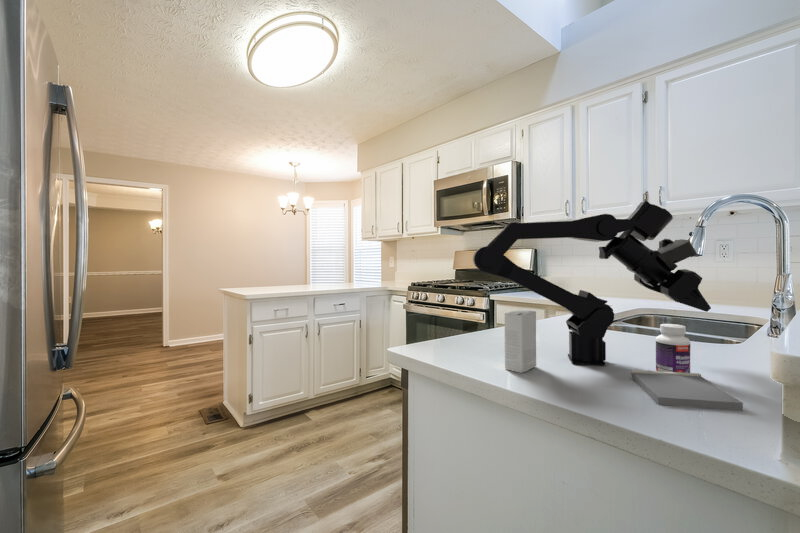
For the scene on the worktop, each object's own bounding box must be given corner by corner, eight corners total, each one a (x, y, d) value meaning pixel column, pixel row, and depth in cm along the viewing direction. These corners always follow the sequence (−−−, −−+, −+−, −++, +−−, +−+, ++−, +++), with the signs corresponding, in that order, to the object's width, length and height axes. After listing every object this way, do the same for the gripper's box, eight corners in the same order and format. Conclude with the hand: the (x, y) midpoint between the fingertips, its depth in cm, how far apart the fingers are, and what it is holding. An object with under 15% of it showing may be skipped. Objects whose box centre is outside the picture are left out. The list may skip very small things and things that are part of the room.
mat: (658, 404, 58) (658, 395, 58) (631, 377, 71) (631, 369, 71) (742, 410, 55) (742, 400, 55) (698, 381, 68) (698, 373, 68)
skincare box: (518, 363, 82) (517, 308, 82) (537, 367, 79) (537, 310, 78) (503, 369, 78) (502, 312, 77) (523, 374, 75) (522, 314, 74)
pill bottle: (681, 382, 68) (680, 329, 68) (650, 374, 73) (649, 324, 72) (696, 376, 70) (696, 326, 70) (665, 369, 75) (665, 321, 75)
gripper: (689, 229, 69) (760, 284, 67) (647, 226, 87) (703, 269, 85) (642, 274, 72) (709, 327, 70) (611, 262, 90) (664, 304, 88)
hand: (696, 304), depth 78 cm, fingers open, 9 cm apart
